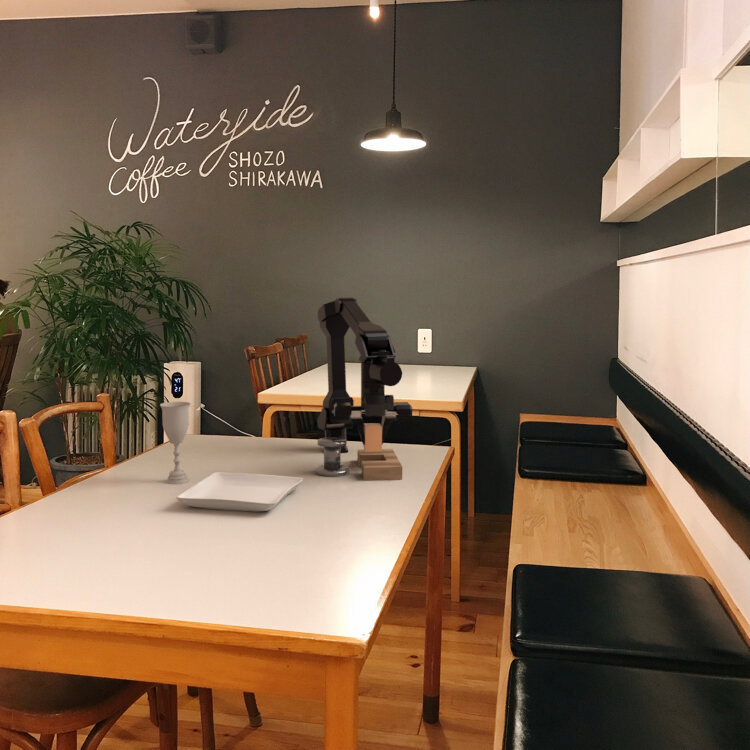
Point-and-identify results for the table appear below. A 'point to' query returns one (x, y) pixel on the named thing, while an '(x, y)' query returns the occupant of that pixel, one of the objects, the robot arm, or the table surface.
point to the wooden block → (373, 437)
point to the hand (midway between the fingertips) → (372, 444)
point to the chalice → (176, 434)
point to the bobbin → (332, 457)
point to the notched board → (379, 465)
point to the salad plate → (239, 491)
